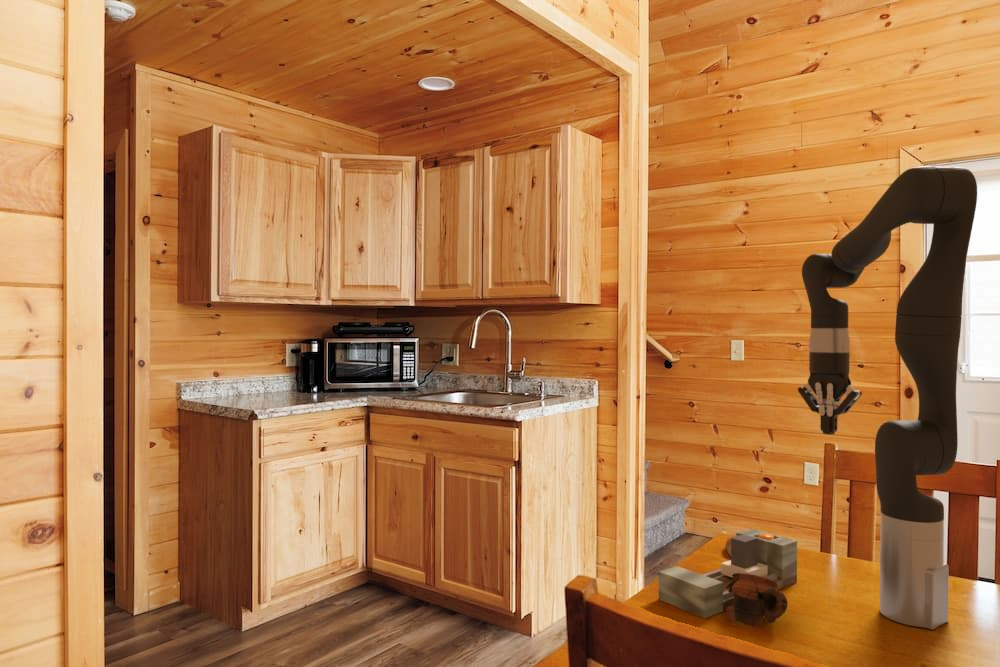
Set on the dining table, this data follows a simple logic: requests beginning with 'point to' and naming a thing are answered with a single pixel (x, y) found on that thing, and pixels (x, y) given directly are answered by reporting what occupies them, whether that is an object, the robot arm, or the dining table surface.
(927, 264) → the robot arm
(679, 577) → the rail base
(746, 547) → the carriage
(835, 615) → the dining table surface
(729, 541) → the pastry
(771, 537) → the plunger
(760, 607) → the pottery mug
